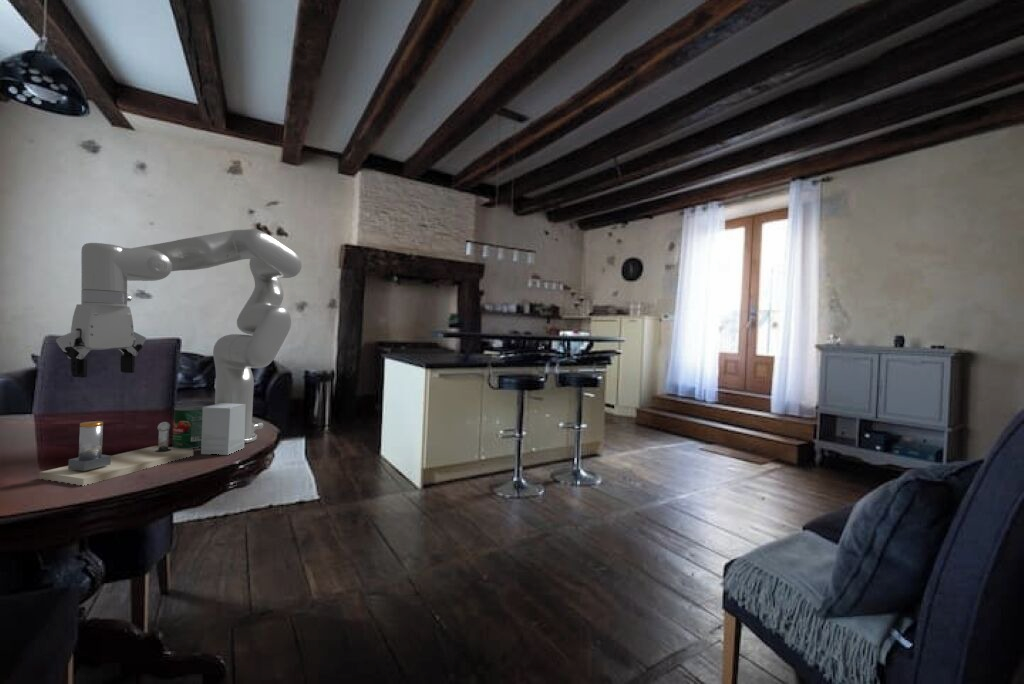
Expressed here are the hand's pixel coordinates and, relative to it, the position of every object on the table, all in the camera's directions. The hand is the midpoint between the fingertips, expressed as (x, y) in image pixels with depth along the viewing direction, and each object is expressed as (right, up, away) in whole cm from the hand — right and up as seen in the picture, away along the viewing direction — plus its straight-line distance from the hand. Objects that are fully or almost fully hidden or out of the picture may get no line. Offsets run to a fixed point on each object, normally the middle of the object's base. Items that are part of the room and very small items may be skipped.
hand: (104, 374), depth 97 cm
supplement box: (+14, -23, +19) cm, 33 cm away
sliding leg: (0, -20, -4) cm, 20 cm away
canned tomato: (+3, -22, +22) cm, 31 cm away
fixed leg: (+4, -20, +12) cm, 24 cm away
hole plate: (+2, -22, +3) cm, 22 cm away
